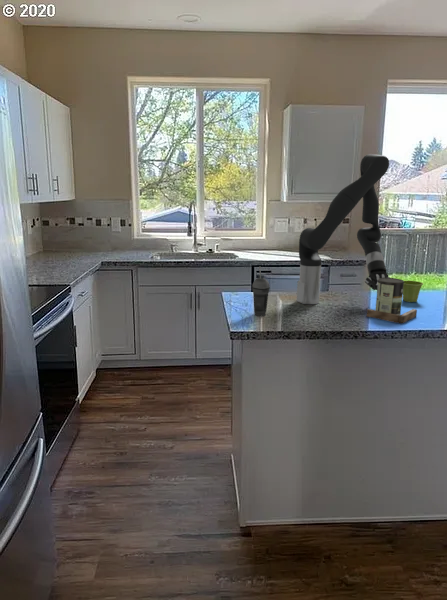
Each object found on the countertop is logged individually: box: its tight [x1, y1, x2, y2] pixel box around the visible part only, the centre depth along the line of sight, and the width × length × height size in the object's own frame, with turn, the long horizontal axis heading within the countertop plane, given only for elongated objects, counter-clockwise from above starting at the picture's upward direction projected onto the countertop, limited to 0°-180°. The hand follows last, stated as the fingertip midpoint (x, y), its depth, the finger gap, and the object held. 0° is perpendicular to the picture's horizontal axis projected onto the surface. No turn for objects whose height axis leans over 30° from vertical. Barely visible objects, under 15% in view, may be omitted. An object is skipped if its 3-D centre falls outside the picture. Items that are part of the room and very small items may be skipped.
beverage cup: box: [251, 266, 270, 317], centre depth 184 cm, size 7×7×20 cm
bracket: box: [366, 308, 418, 325], centre depth 181 cm, size 11×21×3 cm, turn 92°
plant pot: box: [402, 280, 424, 303], centre depth 210 cm, size 9×9×9 cm
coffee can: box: [374, 277, 405, 315], centre depth 189 cm, size 10×10×14 cm
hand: (383, 297), depth 195 cm, fingers closed
